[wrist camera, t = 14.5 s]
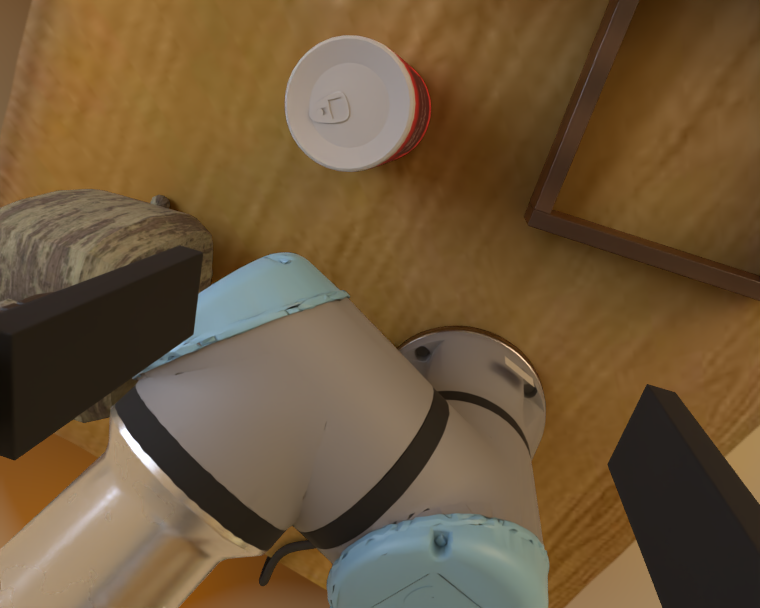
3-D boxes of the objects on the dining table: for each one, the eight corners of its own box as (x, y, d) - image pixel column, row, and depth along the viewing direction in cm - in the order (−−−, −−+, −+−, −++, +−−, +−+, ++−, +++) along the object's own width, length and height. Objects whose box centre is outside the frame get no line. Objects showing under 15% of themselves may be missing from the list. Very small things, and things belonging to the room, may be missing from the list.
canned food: (316, 92, 41) (260, 80, 31) (404, 36, 38) (374, 3, 28) (362, 179, 42) (323, 196, 32) (449, 131, 40) (436, 132, 30)
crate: (767, 295, 39) (796, 312, 35) (523, 216, 41) (527, 225, 37) (937, 19, 32) (996, 5, 28) (634, -63, 34) (653, -87, 30)
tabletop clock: (149, 177, 46) (-192, 228, 23) (243, 202, 45) (-14, 282, 22) (141, 320, 51) (-144, 481, 28) (224, 346, 50) (1, 534, 27)
